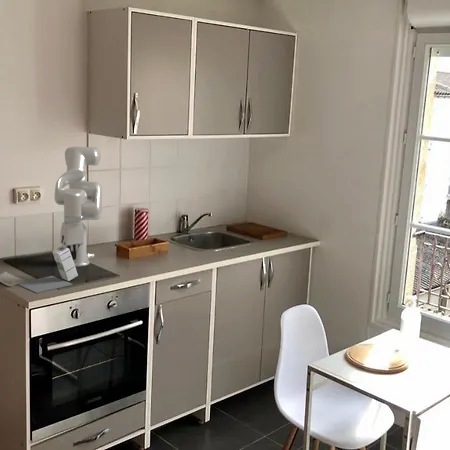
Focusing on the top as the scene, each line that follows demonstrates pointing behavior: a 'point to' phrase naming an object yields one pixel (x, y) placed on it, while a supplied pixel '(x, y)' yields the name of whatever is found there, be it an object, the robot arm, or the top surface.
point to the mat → (44, 284)
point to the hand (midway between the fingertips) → (72, 259)
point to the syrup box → (65, 263)
